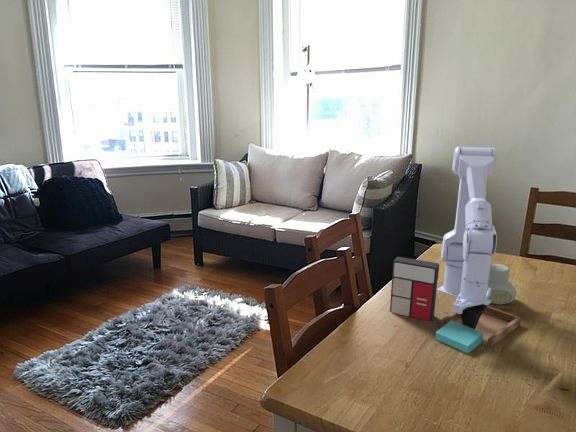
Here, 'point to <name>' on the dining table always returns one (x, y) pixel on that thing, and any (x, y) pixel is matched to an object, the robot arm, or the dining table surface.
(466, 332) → the cover plate
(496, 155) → the robot arm
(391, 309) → the calculator
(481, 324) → the walnut box
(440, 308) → the dining table surface
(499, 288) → the air freshener
